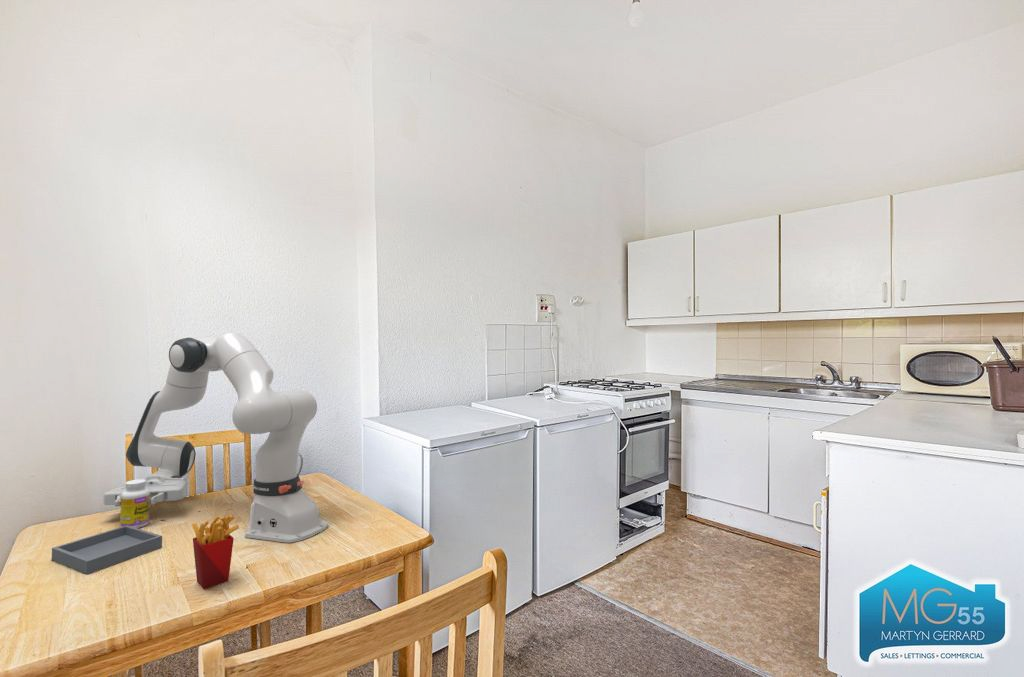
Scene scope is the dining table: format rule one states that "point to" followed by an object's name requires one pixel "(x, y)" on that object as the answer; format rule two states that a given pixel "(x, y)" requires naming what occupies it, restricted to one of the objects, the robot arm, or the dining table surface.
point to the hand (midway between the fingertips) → (133, 502)
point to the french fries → (213, 551)
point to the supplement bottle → (135, 504)
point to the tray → (106, 549)
